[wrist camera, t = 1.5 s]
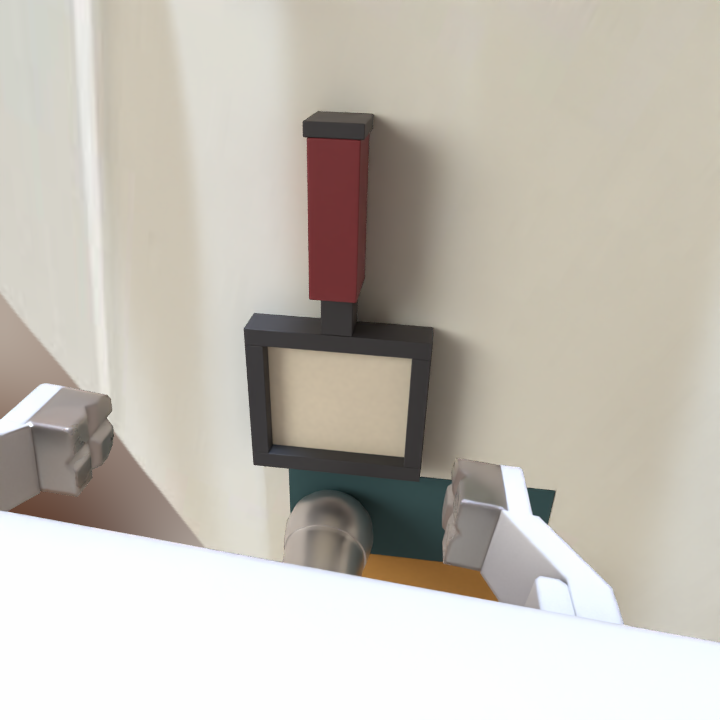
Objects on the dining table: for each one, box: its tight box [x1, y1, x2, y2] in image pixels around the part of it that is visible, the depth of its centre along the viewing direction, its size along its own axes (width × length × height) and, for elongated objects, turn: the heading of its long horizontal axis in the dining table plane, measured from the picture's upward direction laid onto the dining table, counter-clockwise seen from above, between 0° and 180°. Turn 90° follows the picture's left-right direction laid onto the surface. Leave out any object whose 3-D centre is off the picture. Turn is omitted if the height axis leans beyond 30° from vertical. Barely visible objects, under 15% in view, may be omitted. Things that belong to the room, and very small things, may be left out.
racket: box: [244, 111, 433, 482], centre depth 38 cm, size 24×12×4 cm, turn 179°
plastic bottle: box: [282, 490, 373, 577], centre depth 40 cm, size 6×7×20 cm
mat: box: [289, 469, 555, 602], centre depth 50 cm, size 20×15×1 cm
